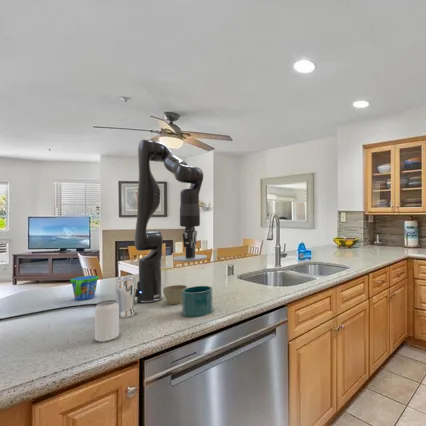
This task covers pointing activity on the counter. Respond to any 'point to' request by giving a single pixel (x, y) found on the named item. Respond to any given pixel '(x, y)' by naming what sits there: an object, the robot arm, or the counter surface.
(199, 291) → the canister
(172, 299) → the flower pot
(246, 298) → the counter surface
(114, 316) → the can
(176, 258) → the lid
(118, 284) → the beer glass
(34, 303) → the counter surface
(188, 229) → the robot arm
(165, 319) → the counter surface
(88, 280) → the blue green tapered container
